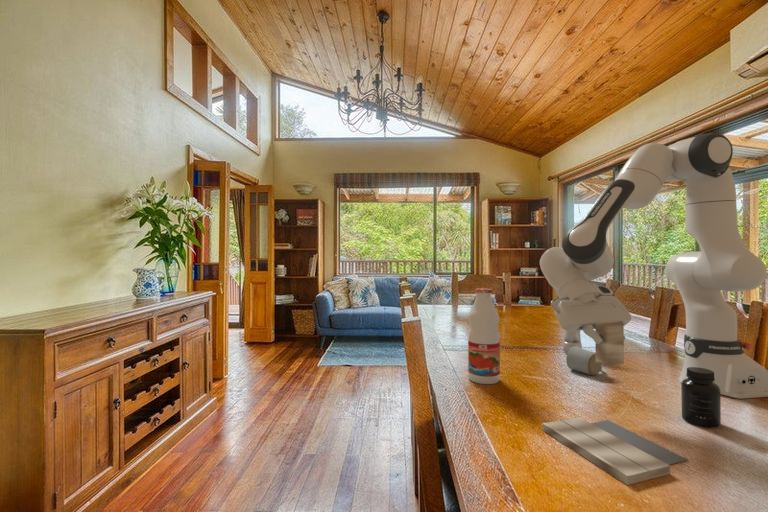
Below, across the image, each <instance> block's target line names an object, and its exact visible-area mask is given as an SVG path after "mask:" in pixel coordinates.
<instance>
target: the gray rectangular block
mask: <svg viewBox="0 0 768 512" xmlns="http://www.w3.org/2000/svg"><path fill="white" fill-rule="evenodd" d="M624 327H625V326H624V323H621V322H616V321H601V322H596V323H595V329H594V330H595V331H596V332H597V333H598V334H602V336H603V337H604V338H605V342H603V343H602V344H596V343H595V353H596V362H598V363H601V364H602V365H604V366H607V367H609V366H610V367H611V366H617V365H624V363H625V362H624V361H625V359H624V358H625V357H624V356H625V351H624V350H625V346H624V345H625V344H624V343H625V340H624V336H625V335H624V334H625V333H624V330H625V329H624Z"/></svg>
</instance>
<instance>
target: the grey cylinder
mask: <svg viewBox="0 0 768 512" xmlns="http://www.w3.org/2000/svg"><path fill="white" fill-rule="evenodd" d="M565 360H566V361H565V362H566V366H567V368H568V369H569V370H572V371H575V372H579V373H583V374H585V375H589V376H597V374H599V373H600V372H601V371H602V370H603V366H602V365H603V364H601V363H598V362H596V352H594V351H592V350H587V349H585V348H583V347H582V348H579V347H572V348H571V349H570V350H569V351H568V353H566V358H565Z"/></svg>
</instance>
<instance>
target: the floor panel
mask: <svg viewBox="0 0 768 512" xmlns="http://www.w3.org/2000/svg"><path fill="white" fill-rule="evenodd" d="M591 423H592V422H588V421H587V420H585V419H583V418H581V417H579V416H577V417H571V418H566V419H560V420H555V421H549V422H542V431H543V432H544V433H545V434H547V435H549V436H550V437H552V438H554V439H555V440H557V441H558V442H559V443H562V444H563V445H564V446H566V447H568V448H569V449H571V450H572V451H574V452H575V453H577V454H578V455H580V456H582V457H583V458H584V459H586V460H588V461H589V462H591V463H593V464H594V465H595V466H597V467H599V468H600V469H601V470H603V471H604V472H606V473H608V474H609V475H610V476H612V477H614V478H615V479H617V480H619V481H620V482H622V483H623V484H625V485H626V486H629V485H634V484H637V483H641V482H645V481H649V480H652V479H655V478H660V477H663V476H667V475H670V474H671V465H668V464H666V463H664V462H662V461H661V460H659V459H657V458H655V457H653V456H651V455H649V454H647V453H645V452H644V451H642V450H640V449H638V448H636V447H634V446H632V445H630V444H628V443H627V442H625V441H623V440H621V439H619V438H617V437H615V436H613V435H611V434H610V433H608V432H606V431H604V430H602V429H600V428H598V427H596V426H594V425H593V424H591Z"/></svg>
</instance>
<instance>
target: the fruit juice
mask: <svg viewBox="0 0 768 512" xmlns="http://www.w3.org/2000/svg"><path fill="white" fill-rule="evenodd" d="M474 292H475V295H476V296H475V298H474V299H475V300H474V302H473V305H472V308H471V309H470V311H469V313H468V323H469V329H468V332H467V333H468V334H467V340H468V342H467V347H468V348H467V352H468V353H467V359H468V362H467V364H468V365H467V369H468V370H467V371H468V375H467V376H468V379H469V380H470V381H471V382H473V383H476V384H481V385H494V384H498V383H499V382H500V380H501V379H500V378H501V365H500V364H501V349H500V348H501V345H500V344H501V337H500V336H501V335H500V331H499V329H498V328H499V327H498V326H499V322H500V316H499V313H498V311H497V309H496V307H495V305H494V302H493V298H492V294H493V289H492V288H485V287H484V288H483V287H478V288H475V291H474Z"/></svg>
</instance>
